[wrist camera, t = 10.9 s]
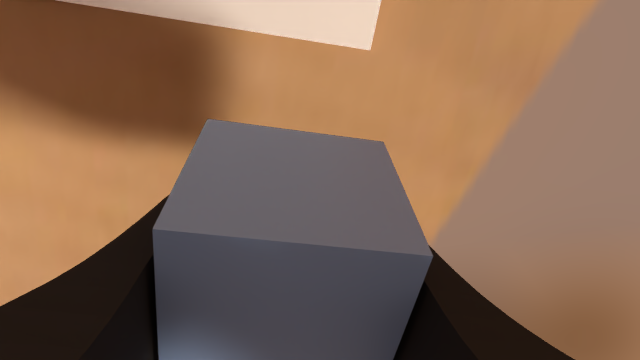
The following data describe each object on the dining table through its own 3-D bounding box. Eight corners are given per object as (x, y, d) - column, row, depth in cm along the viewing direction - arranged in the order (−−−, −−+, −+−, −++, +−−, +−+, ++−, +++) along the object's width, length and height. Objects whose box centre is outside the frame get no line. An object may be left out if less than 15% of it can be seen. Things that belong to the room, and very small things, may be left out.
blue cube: (203, 257, 14) (161, 402, 9) (207, 118, 11) (152, 228, 7) (349, 270, 14) (372, 412, 10) (383, 141, 12) (433, 256, 8)
